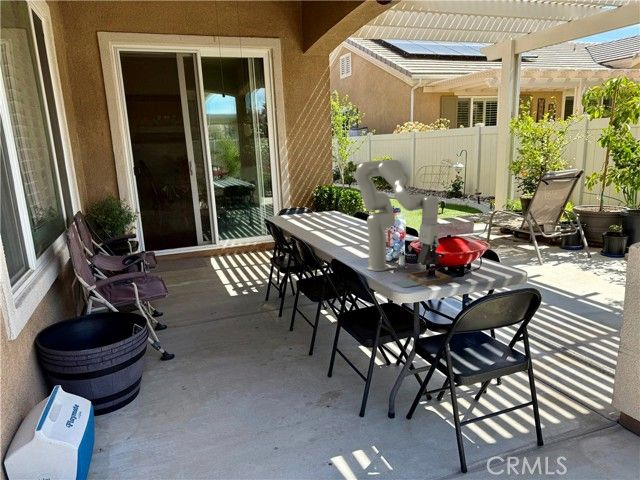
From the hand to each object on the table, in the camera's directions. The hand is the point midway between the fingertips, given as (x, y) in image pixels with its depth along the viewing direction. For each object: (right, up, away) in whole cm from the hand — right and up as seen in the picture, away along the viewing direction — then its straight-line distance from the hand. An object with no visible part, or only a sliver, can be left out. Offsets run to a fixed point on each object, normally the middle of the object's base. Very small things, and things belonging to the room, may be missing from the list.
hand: (428, 255), depth 224 cm
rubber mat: (-11, -14, -3) cm, 18 cm away
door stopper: (0, -4, +1) cm, 4 cm away
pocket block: (+1, -12, +2) cm, 13 cm away
